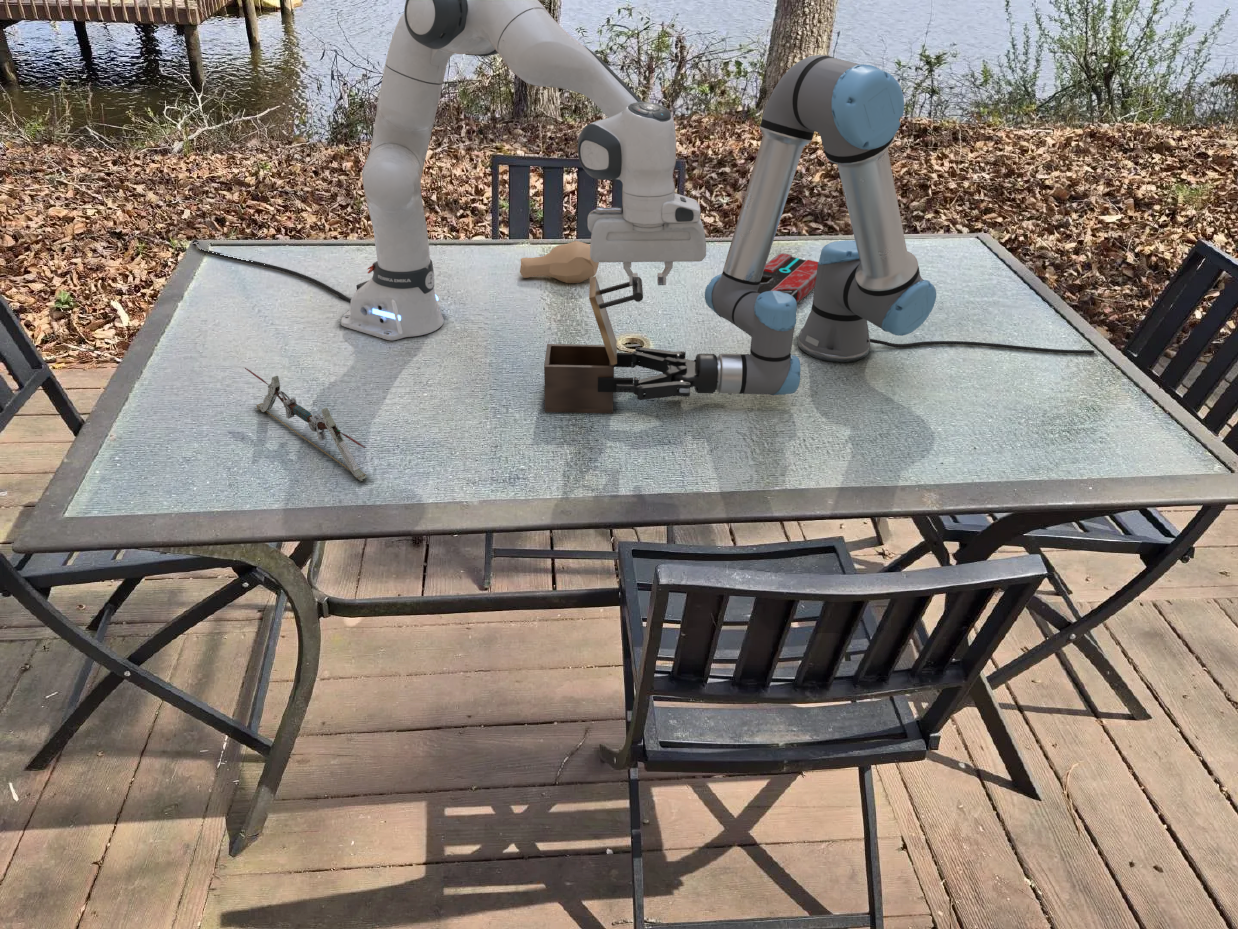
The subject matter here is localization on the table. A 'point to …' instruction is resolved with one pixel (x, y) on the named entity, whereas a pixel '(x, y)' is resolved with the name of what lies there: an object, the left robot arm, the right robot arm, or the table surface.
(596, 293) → the lid
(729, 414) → the table surface
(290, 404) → the bow
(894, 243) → the right robot arm
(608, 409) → the chest
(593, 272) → the squash
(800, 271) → the gun
